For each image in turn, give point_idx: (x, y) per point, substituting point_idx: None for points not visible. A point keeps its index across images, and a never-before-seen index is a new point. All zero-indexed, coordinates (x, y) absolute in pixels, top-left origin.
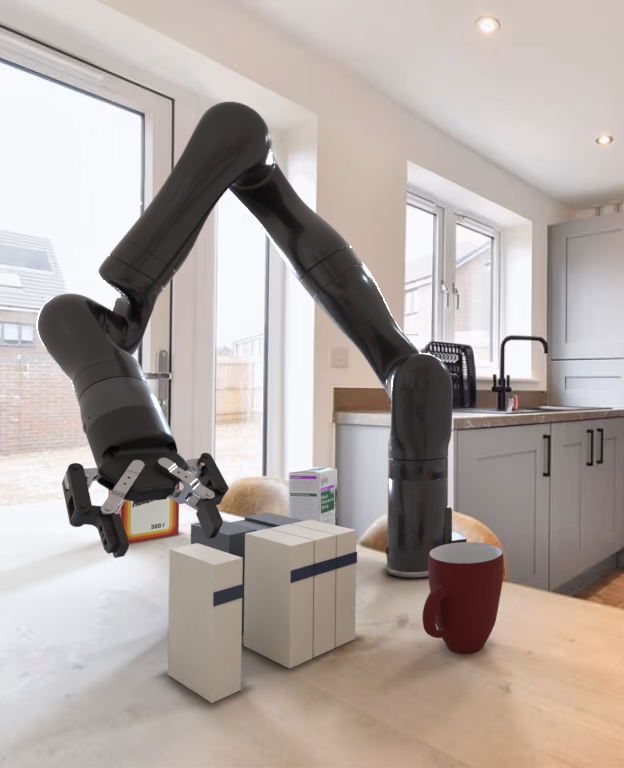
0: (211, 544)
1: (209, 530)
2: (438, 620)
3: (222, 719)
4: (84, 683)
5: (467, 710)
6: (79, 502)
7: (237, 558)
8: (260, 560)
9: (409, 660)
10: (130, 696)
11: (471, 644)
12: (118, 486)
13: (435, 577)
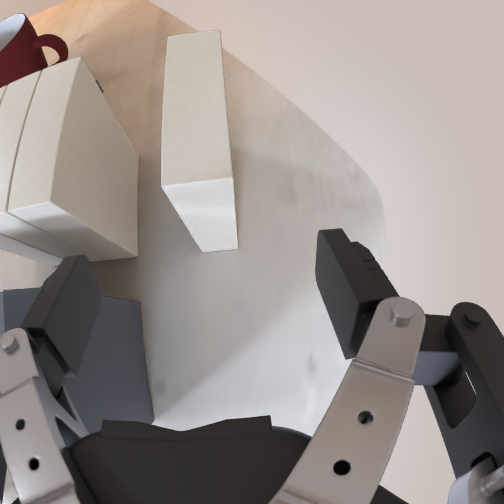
0: (82, 380)
1: (89, 280)
2: None
3: (233, 115)
4: (316, 305)
5: (115, 31)
6: (491, 329)
7: (175, 36)
8: (81, 159)
9: None
10: (285, 226)
11: None
12: (396, 392)
13: (27, 42)
